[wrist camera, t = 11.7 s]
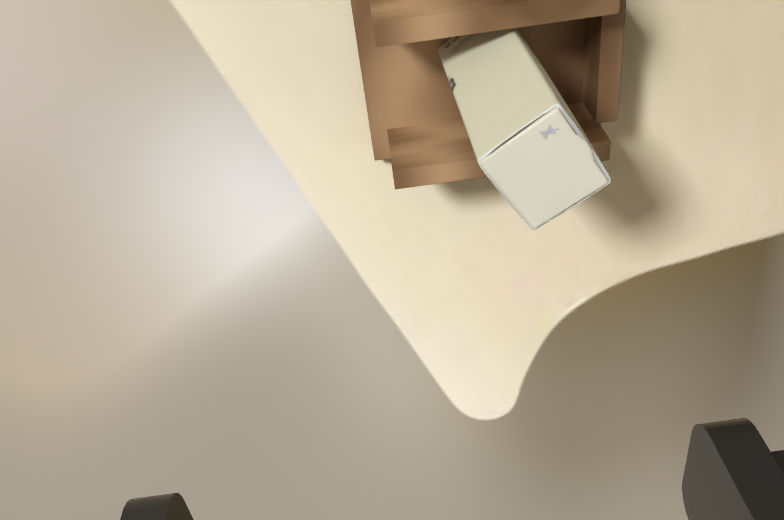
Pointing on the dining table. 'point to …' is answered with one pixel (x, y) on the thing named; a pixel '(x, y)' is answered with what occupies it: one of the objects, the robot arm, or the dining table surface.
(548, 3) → the rack
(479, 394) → the dining table surface
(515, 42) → the box
